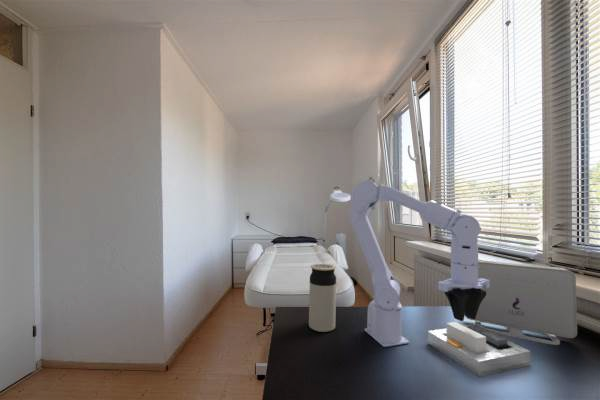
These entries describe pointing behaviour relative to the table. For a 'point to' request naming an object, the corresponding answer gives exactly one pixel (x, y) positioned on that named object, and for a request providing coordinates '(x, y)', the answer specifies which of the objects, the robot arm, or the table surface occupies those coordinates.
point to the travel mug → (322, 298)
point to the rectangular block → (466, 337)
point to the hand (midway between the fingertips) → (464, 318)
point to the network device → (528, 300)
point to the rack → (495, 359)
